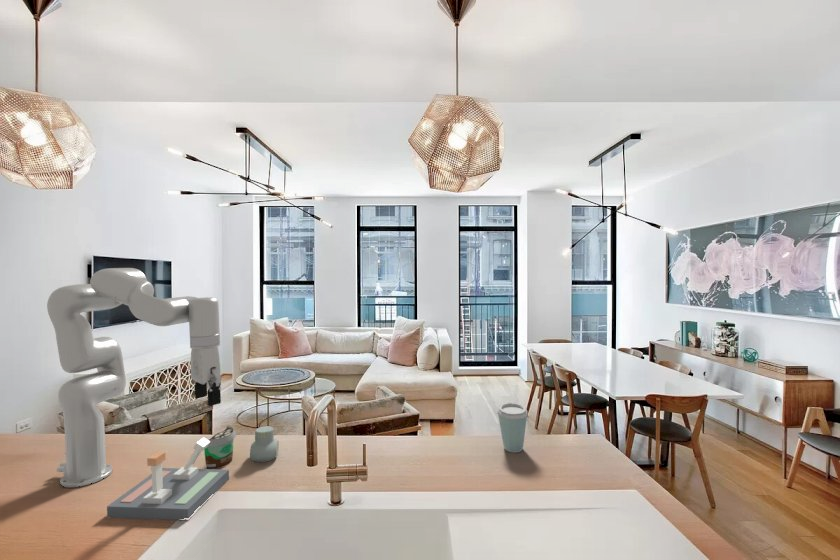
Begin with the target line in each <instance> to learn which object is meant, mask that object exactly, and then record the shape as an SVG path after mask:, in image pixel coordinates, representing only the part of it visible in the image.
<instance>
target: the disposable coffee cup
mask: <svg viewBox="0 0 840 560" xmlns="http://www.w3.org/2000/svg"><path fill="white" fill-rule="evenodd" d="M496 414H497V415H498V421H499V422H498V423H499V427H500V428H499V429H500V432H501V437H502V438H501V439H502V445H503V448H504V449H505V451H506V452H509V453H520V452H522V451H523V449H524V443H525V436H526V435H525V433H526V425H527V418H528V410H527V408H526V407H525V406H524V405H523V404H520V403H518V402H506V403H505V402H503V403H502V404H500V405H499V406H498V409H497V413H496Z"/></svg>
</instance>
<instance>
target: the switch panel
mask: <svg viewBox="0 0 840 560" xmlns="http://www.w3.org/2000/svg"><path fill="white" fill-rule="evenodd" d="M184 467H185V466H181V467H180V468H177V467H175V468H171V467H162V477H163V488H162V489H160V490H159V491H158V492H152V473H151V474H150V475H148V476H147V477H146V478H144V479H143V480H142V481H140V482H139V483H137V484H136V485H134V486H132V488H130V489H129V490H128V491H127V492H125V493H123V494H122V495H120V497H118V498H117V499H115V500H114V501H113V502H111V503H110V504H109V505H107V506H106V513H107V514H106V518H109V519H110V518H111V519H134V520H135V519H138V520H143V519H144V520H167V521H180V520H179V519H184V518H189V517H190V516H191V515H192V514H193V513H194V511H195V510H196V509H197V508H198V507H199V506H201V505H202V504H203V503H204V502H205V501H206V500H207V499H208V498H209V497H210V496H211V495H212V494H214V493H215V492H216V493H217V492H218V491H219V490H220V489H221V488H222V487H223V486H224V485H225V484H226V483H227V482H228V481H229V480H230V470H229V469H219V468H216V469H206V468H199V467H197V466H192V467H191V468H190V469H189V470H188V471H186V470H184ZM216 493H215V494H216ZM215 494H214V495H215Z"/></svg>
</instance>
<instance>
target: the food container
mask: <svg viewBox="0 0 840 560" xmlns="http://www.w3.org/2000/svg"><path fill="white" fill-rule="evenodd" d="M236 435H237V434H236V431H235V429H234V427H233V426H229V425H226V429H223V431H221V432H218V433H216V434H214V435H213V436H212V437H211V438H209V439H207V440H208V441H210V443H209V445H208V446H207V448H205V449H204V450H203V453H204V460H205V461H204V462H205V469H220V468H223V467H226V466H228V465H229V464H230V463H232V462H233V456H234V439H235V438H236Z"/></svg>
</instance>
